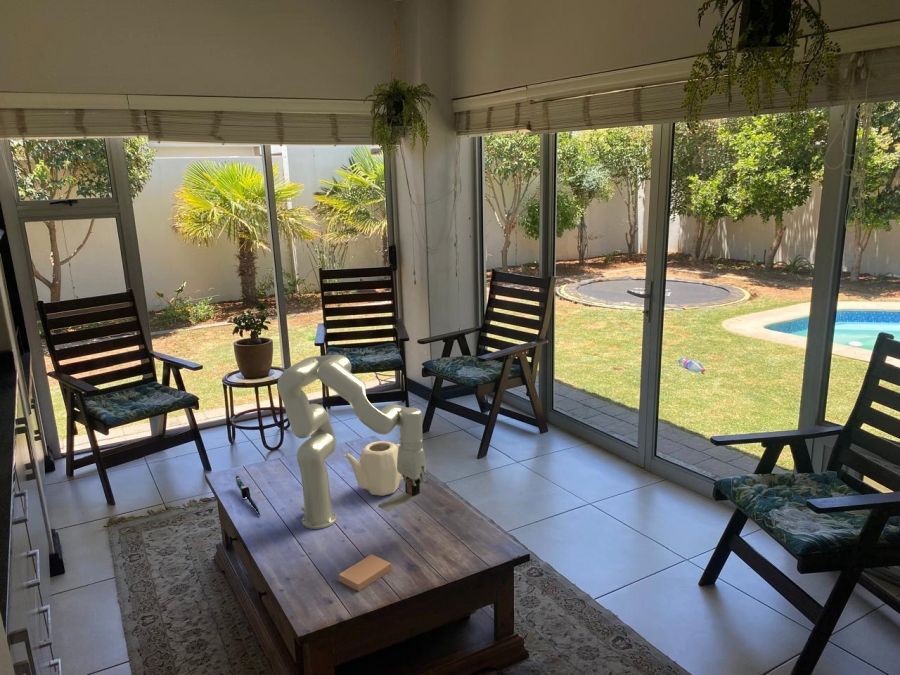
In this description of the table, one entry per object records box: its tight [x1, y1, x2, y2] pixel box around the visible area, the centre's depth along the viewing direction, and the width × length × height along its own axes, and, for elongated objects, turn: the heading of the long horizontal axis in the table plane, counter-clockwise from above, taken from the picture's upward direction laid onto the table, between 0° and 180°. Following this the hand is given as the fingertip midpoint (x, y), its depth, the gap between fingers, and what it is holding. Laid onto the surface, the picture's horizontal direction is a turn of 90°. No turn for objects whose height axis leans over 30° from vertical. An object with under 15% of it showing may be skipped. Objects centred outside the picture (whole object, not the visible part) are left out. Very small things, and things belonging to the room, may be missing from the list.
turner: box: [377, 478, 421, 513], centre depth 228 cm, size 5×16×6 cm, turn 137°
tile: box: [338, 553, 393, 592], centre depth 212 cm, size 9×3×14 cm
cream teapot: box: [344, 440, 404, 497], centre depth 267 cm, size 16×27×19 cm, turn 118°
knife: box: [235, 475, 261, 517], centre depth 264 cm, size 31×3×4 cm, turn 29°
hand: (412, 493), depth 233 cm, fingers closed on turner, 2 cm apart
